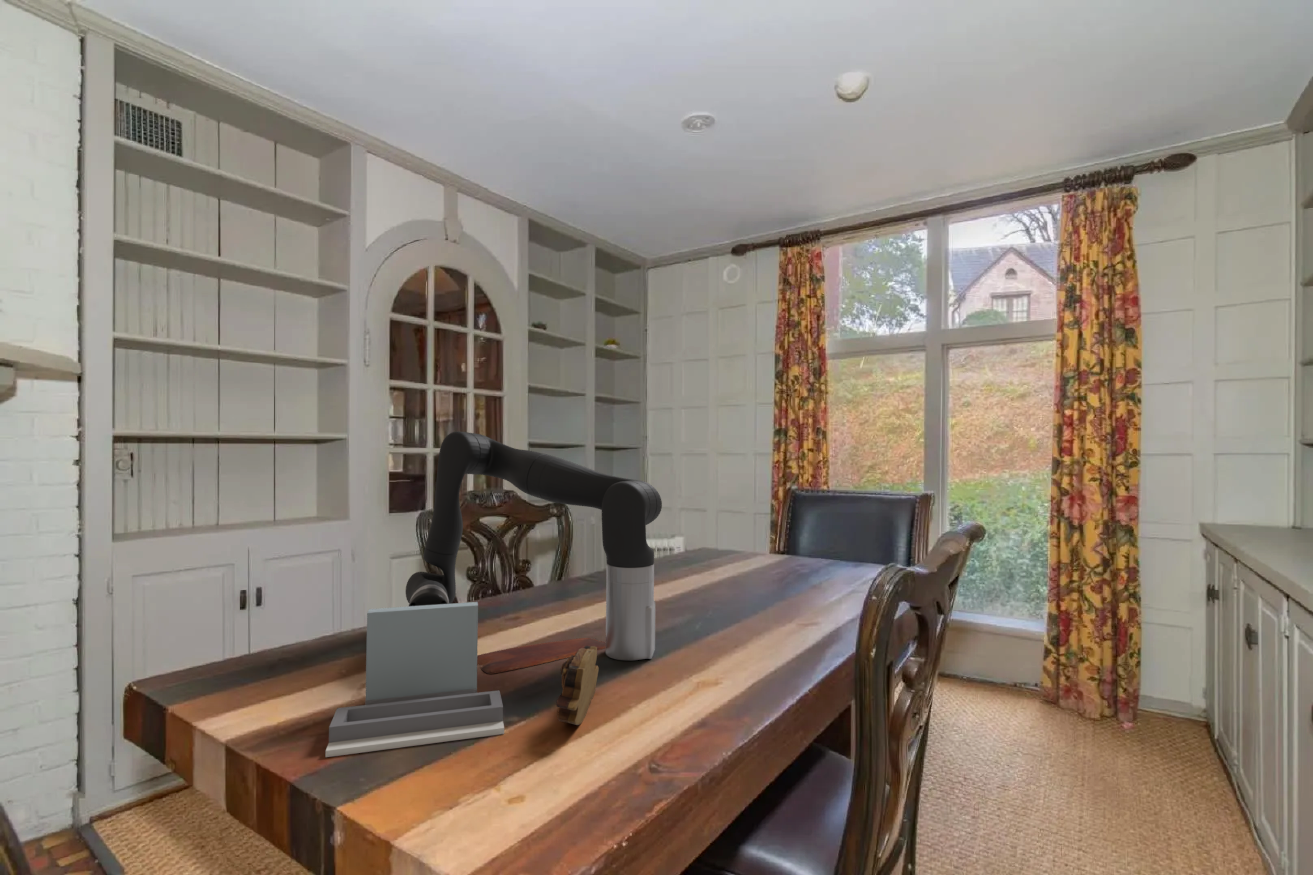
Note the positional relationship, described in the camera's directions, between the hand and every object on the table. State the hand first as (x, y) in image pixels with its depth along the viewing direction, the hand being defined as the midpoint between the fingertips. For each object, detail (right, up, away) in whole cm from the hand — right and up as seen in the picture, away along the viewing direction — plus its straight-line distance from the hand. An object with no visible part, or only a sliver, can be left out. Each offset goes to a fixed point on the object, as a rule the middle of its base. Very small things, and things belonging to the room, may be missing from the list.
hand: (426, 628), depth 109 cm
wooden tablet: (+19, -9, +12) cm, 24 cm away
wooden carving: (+28, -8, -17) cm, 34 cm away
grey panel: (+3, -8, -9) cm, 12 cm away
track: (+7, -8, -21) cm, 23 cm away
